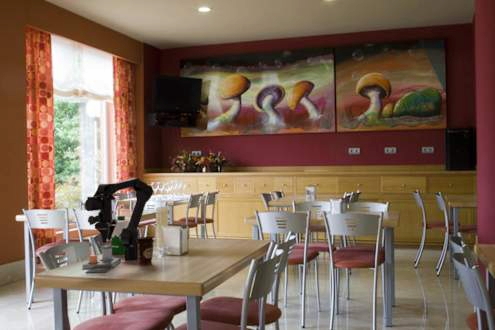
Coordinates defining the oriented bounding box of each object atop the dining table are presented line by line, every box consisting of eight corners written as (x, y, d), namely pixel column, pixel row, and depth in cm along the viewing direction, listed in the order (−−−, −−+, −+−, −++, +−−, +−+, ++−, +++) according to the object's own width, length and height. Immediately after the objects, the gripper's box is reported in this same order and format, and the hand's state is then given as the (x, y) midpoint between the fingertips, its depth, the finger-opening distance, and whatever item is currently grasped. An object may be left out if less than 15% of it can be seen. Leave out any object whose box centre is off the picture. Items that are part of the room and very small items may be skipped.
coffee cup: (158, 263, 264) (157, 236, 264) (149, 266, 256) (148, 239, 256) (142, 262, 267) (141, 236, 267) (133, 265, 259) (132, 238, 259)
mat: (110, 268, 253) (110, 267, 253) (105, 272, 244) (105, 271, 244) (91, 269, 253) (91, 268, 253) (85, 273, 244) (85, 272, 244)
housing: (120, 262, 270) (120, 258, 270) (112, 268, 254) (112, 264, 254) (92, 262, 270) (92, 258, 270) (82, 269, 254) (82, 264, 254)
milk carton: (131, 252, 299) (130, 216, 298) (121, 255, 290) (120, 217, 290) (117, 251, 302) (116, 215, 302) (107, 254, 293) (106, 217, 293)
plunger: (98, 263, 259) (97, 254, 259) (96, 265, 256) (95, 256, 256) (90, 264, 259) (90, 254, 259) (88, 265, 256) (88, 256, 256)
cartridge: (113, 262, 268) (113, 245, 268) (111, 264, 263) (110, 247, 263) (103, 263, 268) (103, 245, 268) (100, 265, 263) (100, 247, 263)
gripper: (95, 208, 275) (95, 239, 275) (83, 211, 256) (84, 244, 256) (117, 207, 275) (117, 238, 275) (107, 211, 256) (107, 244, 256)
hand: (106, 241), depth 265 cm, fingers open, 8 cm apart
